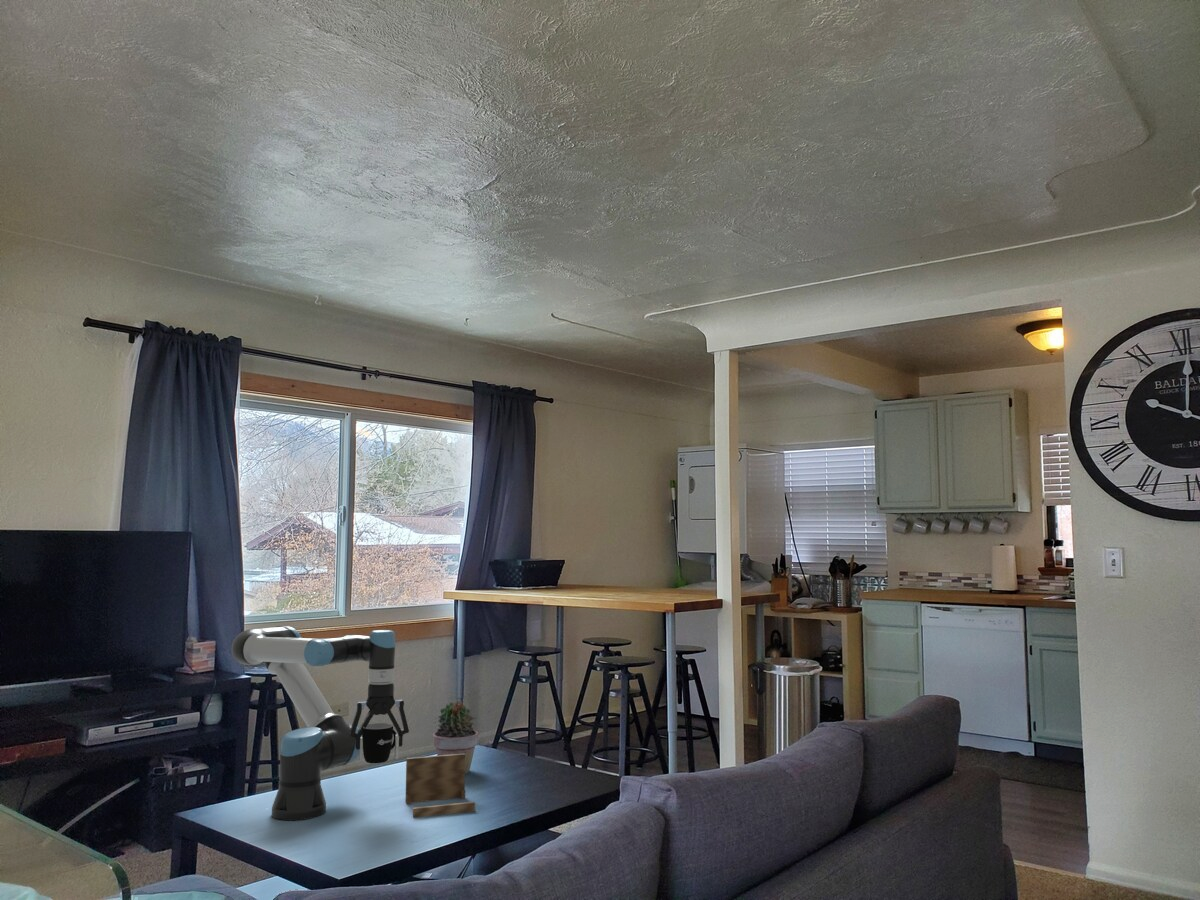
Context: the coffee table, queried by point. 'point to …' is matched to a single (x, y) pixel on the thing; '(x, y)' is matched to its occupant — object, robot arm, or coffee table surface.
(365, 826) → the coffee table surface
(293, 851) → the coffee table surface
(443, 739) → the potted plant
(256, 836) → the coffee table surface
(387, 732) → the mug
